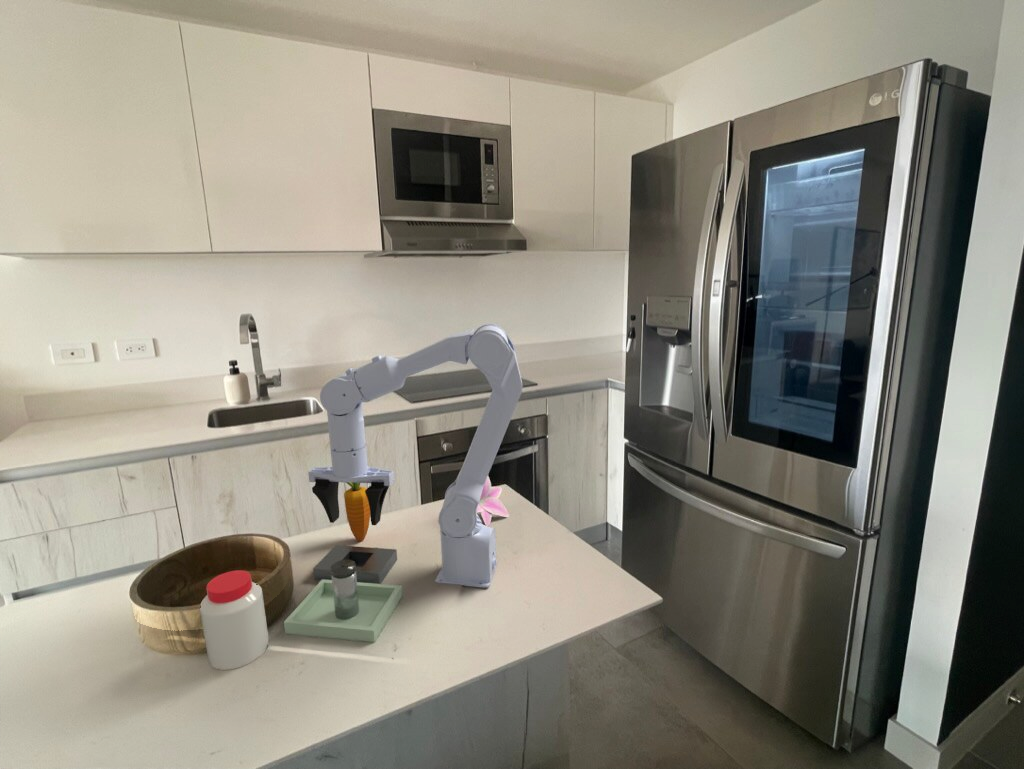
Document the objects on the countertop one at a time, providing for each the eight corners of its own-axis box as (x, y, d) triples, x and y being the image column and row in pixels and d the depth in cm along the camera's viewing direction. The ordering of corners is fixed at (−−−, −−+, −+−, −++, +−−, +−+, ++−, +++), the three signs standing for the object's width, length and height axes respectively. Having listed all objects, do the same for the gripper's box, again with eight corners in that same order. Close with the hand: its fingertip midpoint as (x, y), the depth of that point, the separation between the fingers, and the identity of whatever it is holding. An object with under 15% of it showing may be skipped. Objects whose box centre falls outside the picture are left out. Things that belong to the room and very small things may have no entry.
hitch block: (397, 562, 97) (396, 549, 96) (380, 587, 89) (378, 573, 88) (336, 557, 99) (335, 545, 98) (314, 582, 91) (313, 568, 90)
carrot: (369, 548, 102) (363, 476, 98) (344, 548, 102) (337, 476, 98) (376, 536, 106) (371, 466, 103) (352, 536, 106) (346, 466, 103)
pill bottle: (257, 624, 80) (248, 559, 78) (277, 649, 75) (268, 580, 72) (201, 650, 75) (189, 581, 73) (218, 679, 69) (206, 605, 67)
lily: (456, 538, 107) (475, 504, 103) (441, 497, 116) (458, 464, 112) (505, 539, 113) (524, 507, 110) (487, 500, 122) (504, 469, 119)
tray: (402, 598, 86) (401, 585, 85) (375, 645, 75) (373, 630, 75) (323, 592, 88) (322, 579, 87) (285, 636, 77) (283, 622, 77)
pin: (360, 603, 84) (357, 558, 82) (357, 618, 80) (353, 571, 78) (337, 605, 83) (333, 560, 81) (333, 620, 80) (328, 573, 78)
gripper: (398, 440, 90) (403, 513, 93) (320, 437, 93) (327, 508, 95) (382, 454, 83) (388, 532, 86) (298, 451, 86) (306, 527, 89)
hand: (355, 521), depth 90 cm, fingers open, 7 cm apart
